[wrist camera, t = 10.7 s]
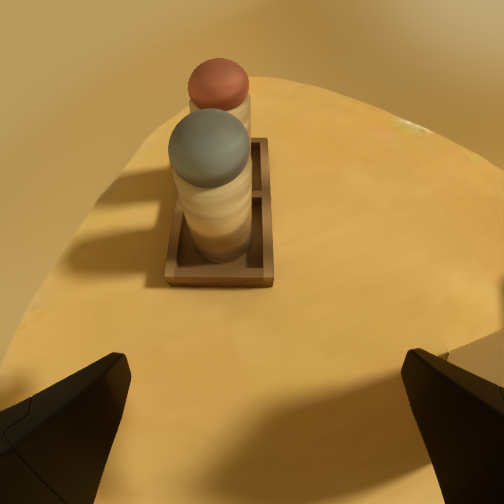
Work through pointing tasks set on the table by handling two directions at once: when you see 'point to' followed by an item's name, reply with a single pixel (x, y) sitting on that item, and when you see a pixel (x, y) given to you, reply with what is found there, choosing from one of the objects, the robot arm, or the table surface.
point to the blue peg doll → (214, 182)
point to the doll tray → (246, 267)
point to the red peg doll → (221, 90)
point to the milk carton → (482, 357)
